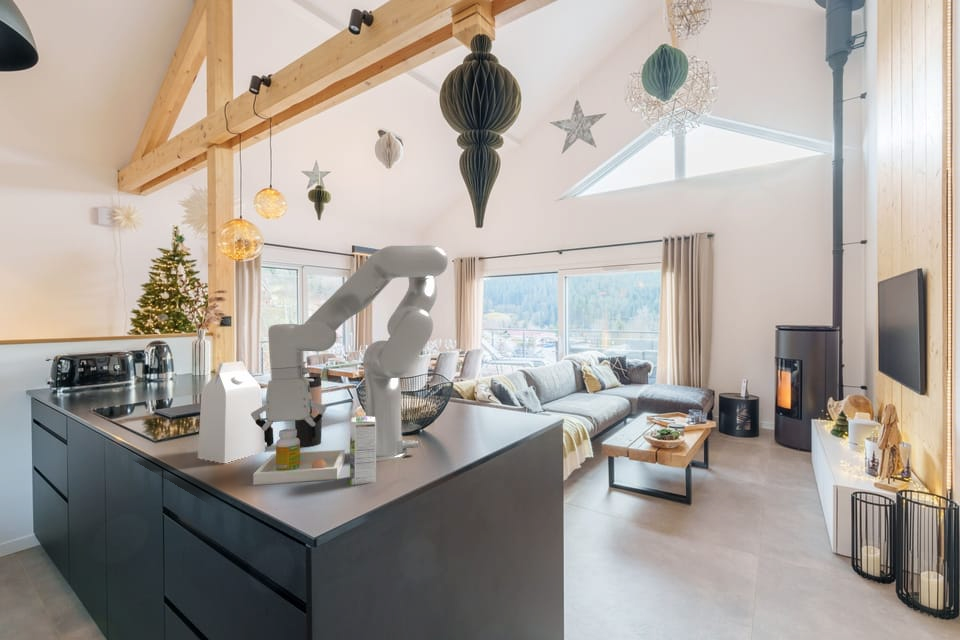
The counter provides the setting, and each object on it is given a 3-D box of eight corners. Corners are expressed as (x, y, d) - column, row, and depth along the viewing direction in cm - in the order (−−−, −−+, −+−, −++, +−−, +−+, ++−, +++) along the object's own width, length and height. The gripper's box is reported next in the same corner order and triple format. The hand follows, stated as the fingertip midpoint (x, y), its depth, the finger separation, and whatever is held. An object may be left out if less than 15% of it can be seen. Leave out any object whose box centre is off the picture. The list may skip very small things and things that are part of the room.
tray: (345, 461, 115) (345, 449, 115) (337, 481, 100) (337, 468, 100) (272, 465, 112) (272, 454, 112) (253, 487, 97) (253, 474, 97)
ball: (326, 469, 107) (326, 456, 107) (324, 474, 104) (324, 460, 104) (313, 470, 106) (313, 457, 106) (310, 475, 103) (310, 461, 103)
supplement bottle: (290, 474, 103) (290, 433, 103) (270, 473, 104) (271, 432, 105) (304, 467, 109) (304, 428, 109) (285, 466, 110) (285, 427, 110)
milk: (238, 447, 130) (238, 359, 130) (265, 451, 125) (264, 361, 125) (197, 458, 119) (196, 363, 119) (224, 464, 114) (223, 365, 114)
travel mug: (303, 440, 136) (303, 376, 136) (326, 440, 135) (326, 376, 135) (289, 447, 129) (289, 379, 129) (314, 447, 128) (313, 380, 128)
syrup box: (350, 478, 102) (349, 417, 102) (376, 476, 104) (375, 415, 104) (349, 487, 96) (349, 422, 97) (377, 484, 98) (376, 420, 98)
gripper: (326, 369, 112) (330, 435, 112) (254, 374, 109) (258, 442, 109) (321, 373, 105) (325, 444, 105) (244, 378, 101) (248, 451, 102)
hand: (291, 443), depth 107 cm, fingers open, 9 cm apart
